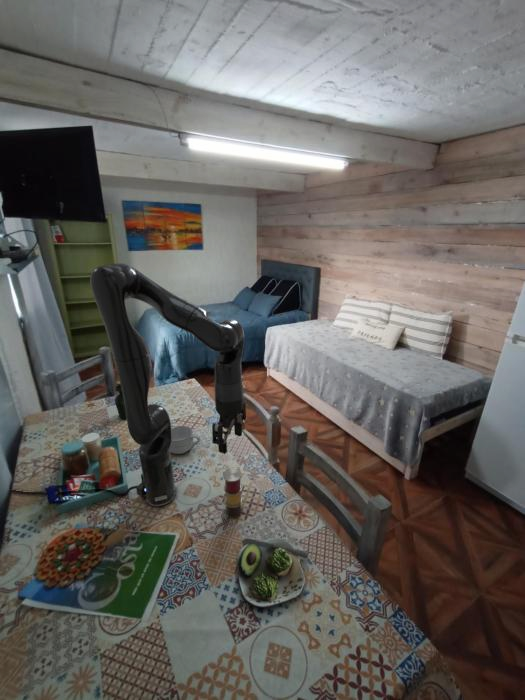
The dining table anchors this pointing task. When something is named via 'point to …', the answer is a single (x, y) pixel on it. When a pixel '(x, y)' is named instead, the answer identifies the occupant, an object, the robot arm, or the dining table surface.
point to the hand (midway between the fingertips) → (230, 443)
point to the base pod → (233, 508)
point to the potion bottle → (120, 402)
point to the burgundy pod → (232, 479)
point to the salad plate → (269, 572)
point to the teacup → (182, 439)
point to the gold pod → (233, 496)
